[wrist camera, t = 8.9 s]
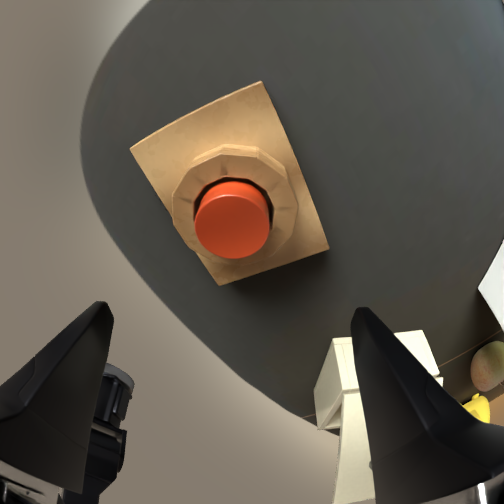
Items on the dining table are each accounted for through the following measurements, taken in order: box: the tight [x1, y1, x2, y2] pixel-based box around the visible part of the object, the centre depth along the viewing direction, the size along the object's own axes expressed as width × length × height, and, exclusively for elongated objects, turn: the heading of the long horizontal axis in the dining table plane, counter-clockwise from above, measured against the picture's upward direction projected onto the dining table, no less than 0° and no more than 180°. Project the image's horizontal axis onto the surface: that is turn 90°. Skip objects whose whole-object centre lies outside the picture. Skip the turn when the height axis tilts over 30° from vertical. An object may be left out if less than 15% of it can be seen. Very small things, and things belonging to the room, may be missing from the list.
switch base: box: [130, 81, 329, 286], centre depth 16 cm, size 11×8×4 cm
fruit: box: [471, 341, 504, 391], centre depth 28 cm, size 8×7×8 cm
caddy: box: [314, 330, 439, 430], centre depth 28 cm, size 12×11×6 cm
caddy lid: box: [332, 377, 443, 504], centre depth 18 cm, size 12×11×5 cm
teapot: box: [460, 393, 490, 423], centre depth 42 cm, size 18×11×11 cm, turn 31°
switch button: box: [194, 181, 270, 259], centre depth 14 cm, size 4×4×2 cm
